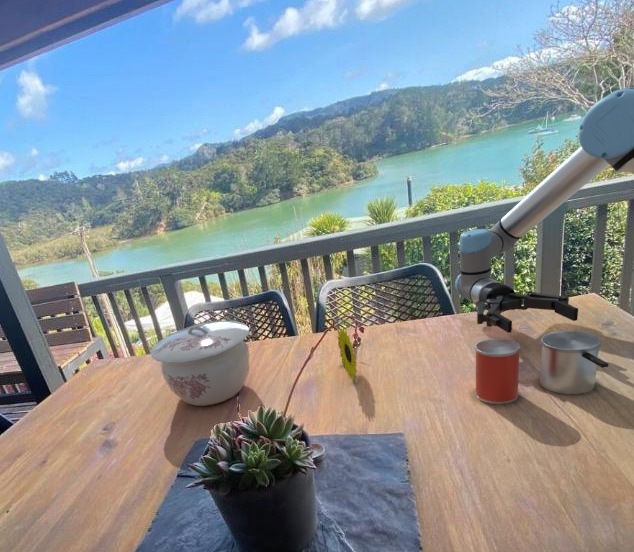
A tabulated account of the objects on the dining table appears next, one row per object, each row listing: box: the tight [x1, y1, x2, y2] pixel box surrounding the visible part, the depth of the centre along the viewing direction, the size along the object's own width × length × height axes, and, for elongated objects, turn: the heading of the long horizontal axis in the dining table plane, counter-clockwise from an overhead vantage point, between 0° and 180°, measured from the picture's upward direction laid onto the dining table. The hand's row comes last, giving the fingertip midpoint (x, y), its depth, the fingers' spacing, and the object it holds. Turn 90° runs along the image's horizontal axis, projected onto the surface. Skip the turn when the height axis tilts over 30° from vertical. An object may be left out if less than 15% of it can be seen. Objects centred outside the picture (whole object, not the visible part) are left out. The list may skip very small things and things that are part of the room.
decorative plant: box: [336, 326, 362, 382], centre depth 118 cm, size 15×6×30 cm
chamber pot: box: [149, 320, 250, 407], centre depth 120 cm, size 28×28×21 cm
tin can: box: [474, 338, 521, 405], centre depth 90 cm, size 8×8×12 cm
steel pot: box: [539, 330, 609, 395], centre depth 87 cm, size 10×14×10 cm, turn 177°
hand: (542, 321), depth 95 cm, fingers open, 13 cm apart
